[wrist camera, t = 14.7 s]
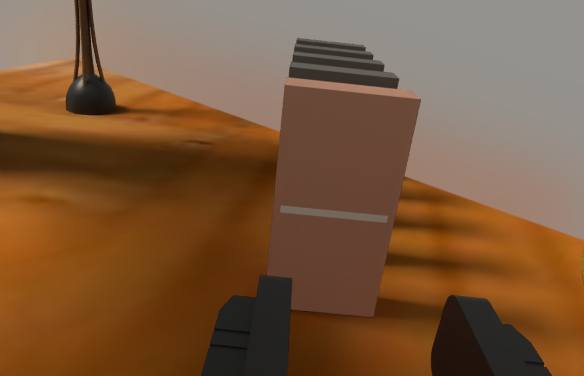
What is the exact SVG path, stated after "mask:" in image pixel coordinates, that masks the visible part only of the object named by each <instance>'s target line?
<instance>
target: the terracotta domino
mask: <svg viewBox="0 0 584 376" xmlns="http://www.w3.org/2000/svg"><path fill="white" fill-rule="evenodd" d="M420 102H421V99H420V98H419V97H418V96H417V95H416V94H414V93H413V92H412V91H410V90H401V89H392V88H382V87H373V86H364V85H354V84H345V83H336V82H326V81H317V80H308V79H298V78H289V77H286V80H285V87H284V98H283V109H282V119H281V130H280V140H279V151H278V161H277V172H276V182H275V193H274V203H273V214H272V224H271V235H270V245H269V256H268V266H267V275H268V276H278V277H287V278H292V297H291V310H301V311H311V312H322V313H333V314H343V315H354V316H365V317H373V316H374V312H375V307H376V302H377V298H378V293H379V289H380V284H381V280H382V275H383V271H384V266H385V261H386V257H387V252H388V248H389V243H390V239H391V234H392V230H393V225H394V220H395V216H396V211H397V207H398V202H399V198H400V193H401V189H402V184H403V179H404V175H405V170H406V166H407V161H408V156H409V152H410V147H411V143H412V138H413V134H414V129H415V124H416V120H417V116H418V111H419V106H420Z"/></svg>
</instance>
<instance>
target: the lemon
mask: <svg viewBox="0 0 584 376" xmlns="http://www.w3.org/2000/svg"><path fill="white" fill-rule="evenodd" d="M581 272H582V280H583V284H584V249H583V255H582V266H581Z"/></svg>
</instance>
